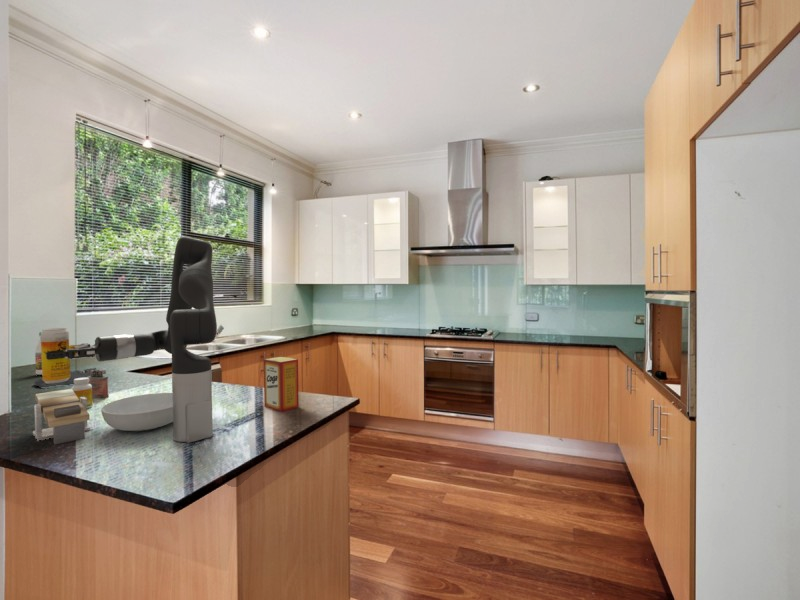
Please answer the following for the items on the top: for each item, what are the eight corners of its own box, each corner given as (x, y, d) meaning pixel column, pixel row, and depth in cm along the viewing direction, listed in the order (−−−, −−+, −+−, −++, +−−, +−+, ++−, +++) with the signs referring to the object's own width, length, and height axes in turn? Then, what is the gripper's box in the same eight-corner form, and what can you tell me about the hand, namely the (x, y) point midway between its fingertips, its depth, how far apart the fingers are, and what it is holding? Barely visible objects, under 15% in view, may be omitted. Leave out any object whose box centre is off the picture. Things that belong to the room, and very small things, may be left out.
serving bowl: (81, 437, 106) (80, 411, 106) (142, 413, 127) (142, 391, 127) (153, 441, 103) (152, 414, 103) (204, 415, 124) (203, 393, 124)
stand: (96, 435, 107) (95, 403, 107) (41, 447, 99) (40, 413, 99) (83, 423, 117) (83, 394, 117) (32, 434, 109) (31, 403, 109)
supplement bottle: (95, 407, 134) (94, 378, 134) (75, 411, 130) (74, 381, 130) (88, 404, 137) (87, 376, 137) (69, 408, 133) (68, 379, 133)
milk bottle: (41, 373, 193) (40, 331, 192) (60, 372, 195) (59, 330, 194) (32, 376, 185) (30, 332, 185) (52, 375, 188) (51, 332, 187)
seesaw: (89, 420, 106) (89, 408, 106) (49, 428, 100) (49, 415, 100) (71, 394, 120) (71, 383, 120) (35, 399, 114) (35, 388, 114)
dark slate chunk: (30, 385, 169) (30, 374, 169) (94, 376, 186) (94, 366, 186) (40, 391, 160) (40, 379, 160) (106, 380, 177) (106, 370, 177)
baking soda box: (264, 406, 133) (263, 358, 133) (281, 402, 138) (280, 355, 138) (281, 411, 127) (280, 361, 127) (298, 407, 132) (297, 358, 132)
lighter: (84, 397, 147) (84, 370, 147) (93, 395, 150) (93, 368, 150) (102, 398, 145) (101, 371, 145) (111, 396, 148) (110, 369, 148)
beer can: (54, 384, 112) (52, 330, 112) (36, 383, 113) (34, 330, 113) (76, 379, 118) (74, 327, 118) (59, 378, 119) (57, 327, 119)
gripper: (109, 334, 131) (39, 339, 118) (121, 337, 121) (48, 343, 109) (109, 357, 131) (40, 365, 119) (122, 362, 121) (49, 371, 109)
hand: (44, 354), depth 114 cm, fingers closed on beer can, 6 cm apart
